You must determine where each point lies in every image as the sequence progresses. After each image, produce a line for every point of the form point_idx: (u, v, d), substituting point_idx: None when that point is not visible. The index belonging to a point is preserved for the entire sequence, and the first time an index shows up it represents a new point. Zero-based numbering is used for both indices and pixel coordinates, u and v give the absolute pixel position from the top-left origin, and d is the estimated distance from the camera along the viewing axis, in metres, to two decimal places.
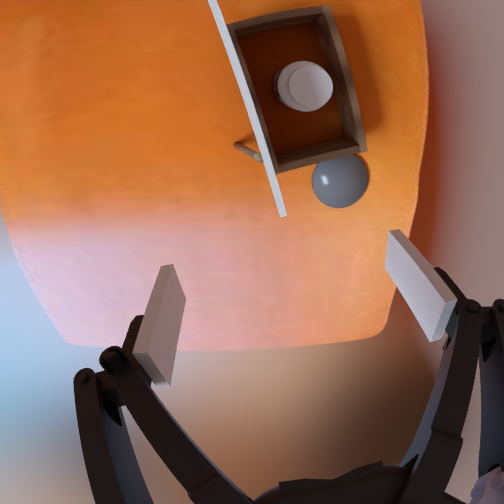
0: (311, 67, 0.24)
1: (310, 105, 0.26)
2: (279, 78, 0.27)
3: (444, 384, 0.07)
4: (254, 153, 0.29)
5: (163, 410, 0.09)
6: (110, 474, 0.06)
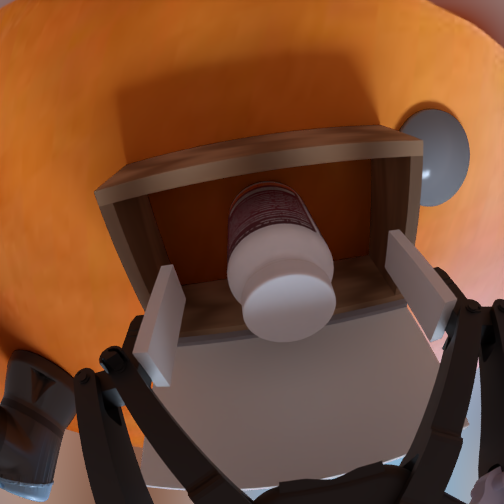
0: (247, 310, 0.14)
1: (329, 314, 0.14)
2: None
3: (444, 384, 0.07)
4: None
5: (163, 410, 0.09)
6: (110, 474, 0.06)
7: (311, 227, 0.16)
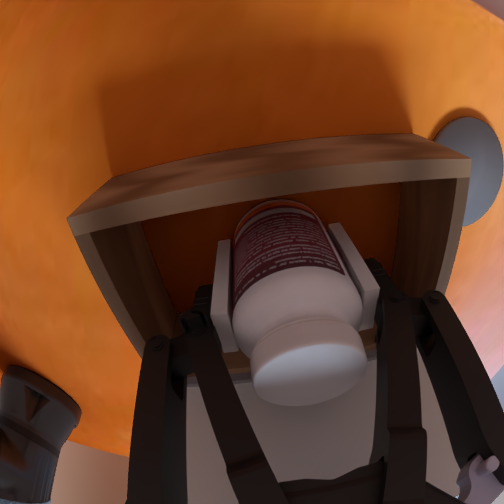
0: (258, 381, 0.10)
1: (358, 378, 0.11)
2: None
3: (387, 382, 0.08)
4: None
5: (230, 382, 0.09)
6: (155, 449, 0.07)
7: (339, 268, 0.12)
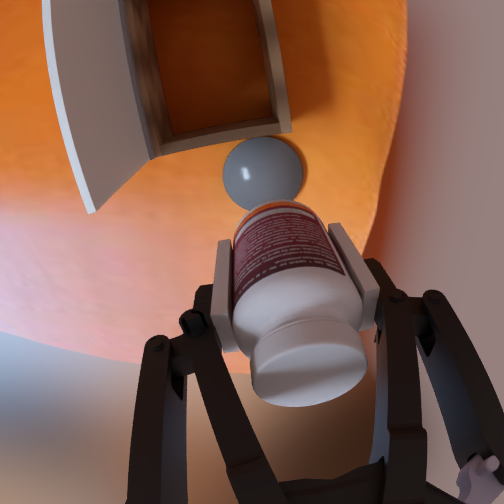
0: (258, 381, 0.10)
1: (358, 379, 0.11)
2: None
3: (387, 382, 0.08)
4: None
5: (230, 382, 0.09)
6: (155, 449, 0.07)
7: (339, 269, 0.12)
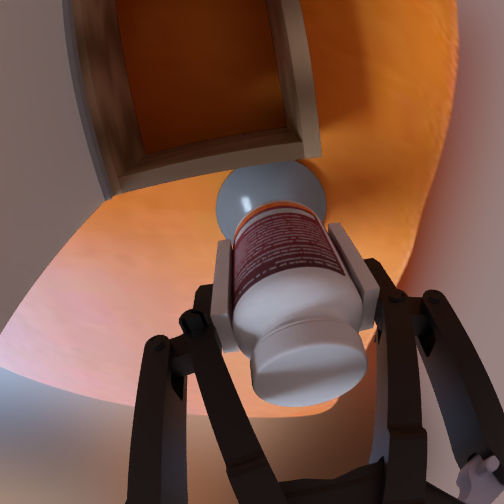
0: (258, 381, 0.10)
1: (358, 379, 0.11)
2: None
3: (387, 382, 0.08)
4: None
5: (230, 382, 0.09)
6: (155, 449, 0.07)
7: (339, 269, 0.12)
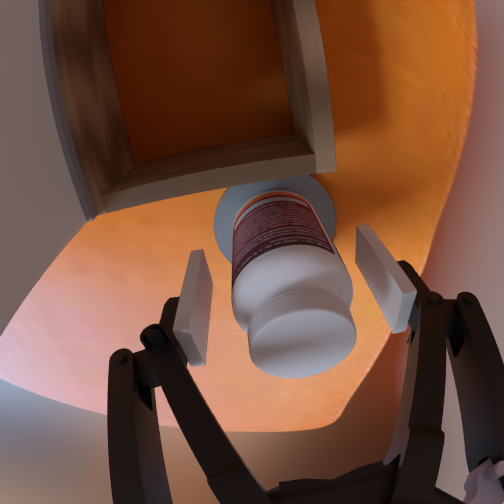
0: (255, 348, 0.11)
1: (348, 349, 0.12)
2: None
3: (415, 381, 0.08)
4: None
5: (198, 393, 0.09)
6: (132, 459, 0.07)
7: (329, 248, 0.13)
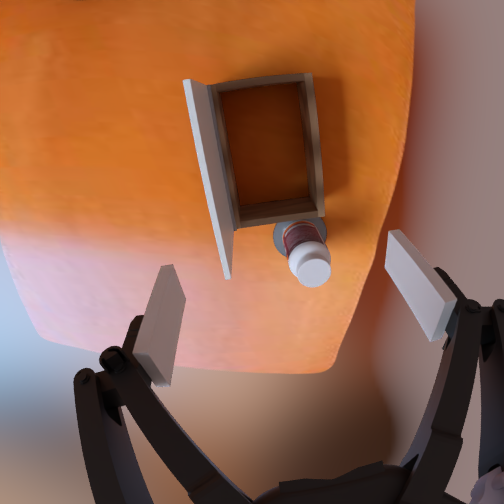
0: (299, 272, 0.38)
1: (329, 275, 0.38)
2: None
3: (444, 384, 0.07)
4: None
5: (163, 410, 0.09)
6: (110, 474, 0.06)
7: (322, 242, 0.40)
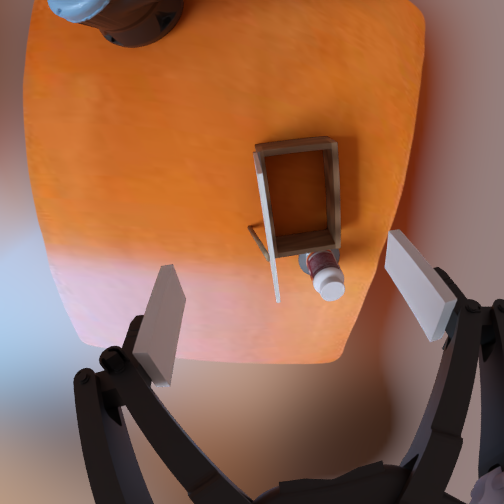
0: (322, 291, 0.51)
1: (343, 292, 0.51)
2: None
3: (444, 384, 0.07)
4: (264, 252, 0.48)
5: (163, 410, 0.09)
6: (110, 474, 0.06)
7: (338, 267, 0.53)
